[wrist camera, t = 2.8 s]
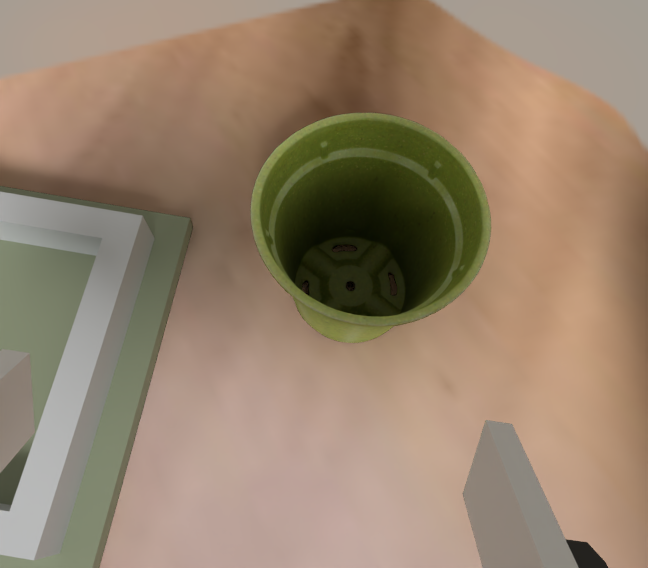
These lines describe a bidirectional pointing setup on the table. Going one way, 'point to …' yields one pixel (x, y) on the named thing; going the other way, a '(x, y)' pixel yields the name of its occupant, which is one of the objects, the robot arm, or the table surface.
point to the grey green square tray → (79, 362)
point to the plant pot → (369, 222)
